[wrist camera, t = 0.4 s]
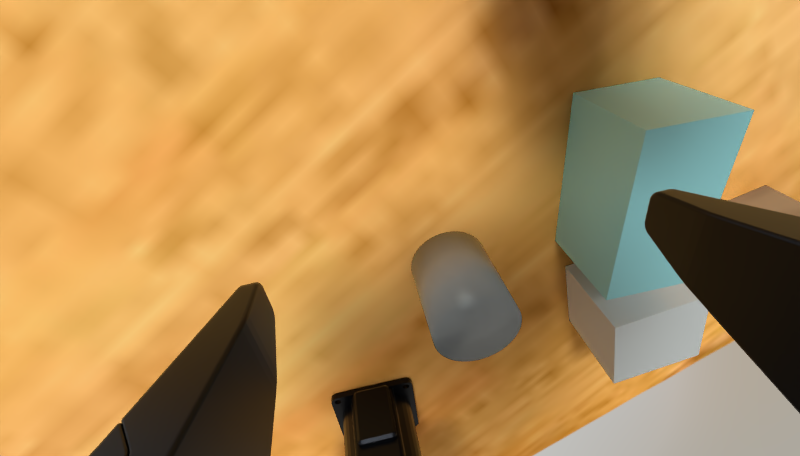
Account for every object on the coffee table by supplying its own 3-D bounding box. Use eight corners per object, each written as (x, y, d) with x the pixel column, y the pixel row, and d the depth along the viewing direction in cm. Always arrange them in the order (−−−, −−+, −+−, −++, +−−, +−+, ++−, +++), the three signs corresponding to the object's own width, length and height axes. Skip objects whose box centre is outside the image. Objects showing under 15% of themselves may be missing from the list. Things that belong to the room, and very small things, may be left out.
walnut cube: (755, 236, 31) (822, 279, 27) (692, 262, 31) (748, 308, 27) (764, 184, 28) (841, 222, 24) (695, 213, 29) (759, 256, 25)
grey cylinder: (484, 282, 29) (519, 350, 24) (414, 297, 28) (436, 369, 23) (484, 224, 26) (524, 287, 21) (407, 240, 25) (429, 307, 21)
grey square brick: (640, 294, 32) (698, 354, 28) (568, 319, 33) (613, 383, 28) (644, 237, 29) (711, 295, 24) (564, 265, 29) (615, 327, 24)
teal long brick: (622, 225, 28) (688, 282, 23) (554, 239, 28) (606, 300, 23) (657, 76, 22) (754, 109, 18) (571, 92, 22) (646, 130, 17)
